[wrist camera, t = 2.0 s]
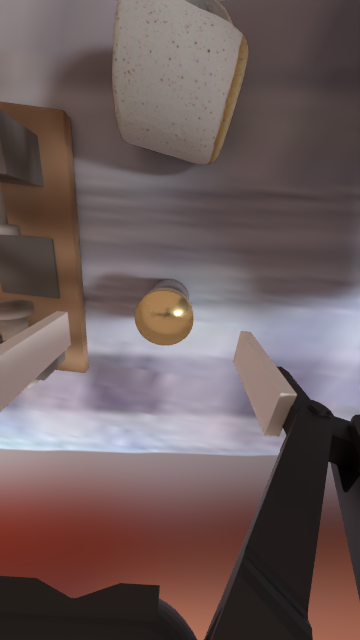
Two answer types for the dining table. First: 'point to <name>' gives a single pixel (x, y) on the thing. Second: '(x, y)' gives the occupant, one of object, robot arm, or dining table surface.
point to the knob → (165, 313)
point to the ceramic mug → (176, 75)
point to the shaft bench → (40, 229)
